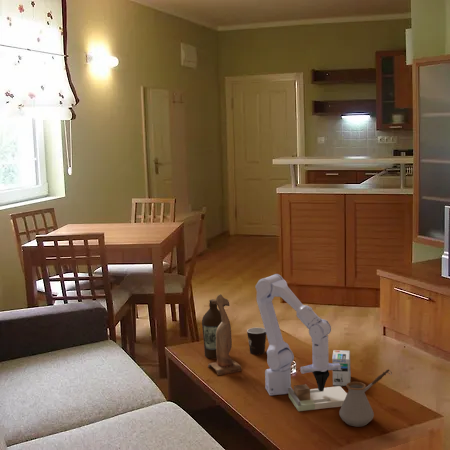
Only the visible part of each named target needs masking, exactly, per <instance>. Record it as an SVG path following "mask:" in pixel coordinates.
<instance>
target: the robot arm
mask: <svg viewBox="0 0 450 450" xmlns="http://www.w3.org/2000/svg"><path fill="white" fill-rule="evenodd" d="M255 290H256V302H257V303H256V304H257V307H258V310H259V312H260V313H259V314H260V317H261V320H262V324H263V328H264V329H265V331H266V338H267V342H268V347H267V350H266V355H267V356H266V357H267V358H266V362H267V365H268V367H269V368H267V369H265V371H264V376H265V377H264V381H265V383H264V384H265V387H264V389H265V390H266V391H267V393H268V395H269V396H277V395H287V394H288V395H289V393H288V388H291V389H292V391H294V388H292V383H291V377H292V375H291V373H292V372H291V366H292V363H293V362H294V359H295V356H294V355H295V354H294V353H293V350H292V349H291V348H290V345H289V343H287V342H285V341H284V338H283V335H282V334H283V333H282V332H281V328H280V324H279V321H278V318H277V314H276V311H275V308H274V307H275V306H274V303H273V300H274V298H275V297H277V298H282V300H283V301H284V302H286V303H287V305H289V306H290V307H291V309H293V310H294V311H295V312H296V317H297V319H298V320H300V321H301V323H302V324H303V325H304V326H305V327H306V328H307V330H308V335H309V336H310V338H311V342H312V343H311V344H312V347H311V349H312V356H311V357H312V364H308V365H305V366H300V368H299V371H300V373H301V374H302V375H304V374H307V373H312V375H313V376H314V379H315V382H316V385H317V389H318V390H319V391H324V388H325V386H326V382H327V381H328V378H329V377H330V371H333V370H341V365H340V364H339V363H331V362H329V334H331V332H332V325H331V324H330V322H329V321H328V320H327V319H323V318H322V317H320V316H318V314H317V313H316V312H315V311H314V309H313V308H312V306H309V305H307V304H305V305H304V304H303V303H302V302H301V300H300V299H299V298H298V296H296V294H295V293H294V292H293V291H292V290H291V288H290V287H289V286H288V282H287V281H286V280H285V279H284V278H283V276H282V275H280V274H279V273H274V274H272V275H270V276H267V277H263V278H260V279H259V280H258V281H257V283H256V284H255Z"/></svg>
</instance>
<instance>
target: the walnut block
mask: <svg viewBox="0 0 450 450" xmlns="http://www.w3.org/2000/svg"><path fill="white" fill-rule="evenodd" d="M293 391H294V393H295V395H296V396H297V398H298V399H299V400H300V401H302V400H310V387H309V386H308V384H306V383H305V384H304V383H303V384H297V385H293Z"/></svg>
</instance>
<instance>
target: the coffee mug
mask: <svg viewBox="0 0 450 450" xmlns="http://www.w3.org/2000/svg"><path fill="white" fill-rule="evenodd" d="M246 333H247V339H248V340H247V341H248V346H249V347H248V348H249V352H250V354H252V355H256V356H258V355H264V354H265V353H266V341H267V339H266V338H267V335H266V331H265V328H264V327H251V328H248V329H247V330H246Z"/></svg>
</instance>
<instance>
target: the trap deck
mask: <svg viewBox="0 0 450 450" xmlns="http://www.w3.org/2000/svg"><path fill="white" fill-rule="evenodd" d="M342 387H343V386H338V385H335V386H330V387H328V386H327V387H324V391H319V390H318V388H311V389H310V400H302V401H300V400H299V399H298V398H297V396H296V395H295V393H294V390H293V391H292V389H293V388H292V387H291V388H292V389H291V388H288V393H289V394H288V398H289V400H290V401H291V403H292V404H293V405H294V408H296V410H297V411H298V412H303V411H313V410H320V409H328V408H329V409H330V408H341V407H342V405H343V402H344V400H345V398H346V395H347V393H348V392H346V391H345V390H344V388H342Z"/></svg>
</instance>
